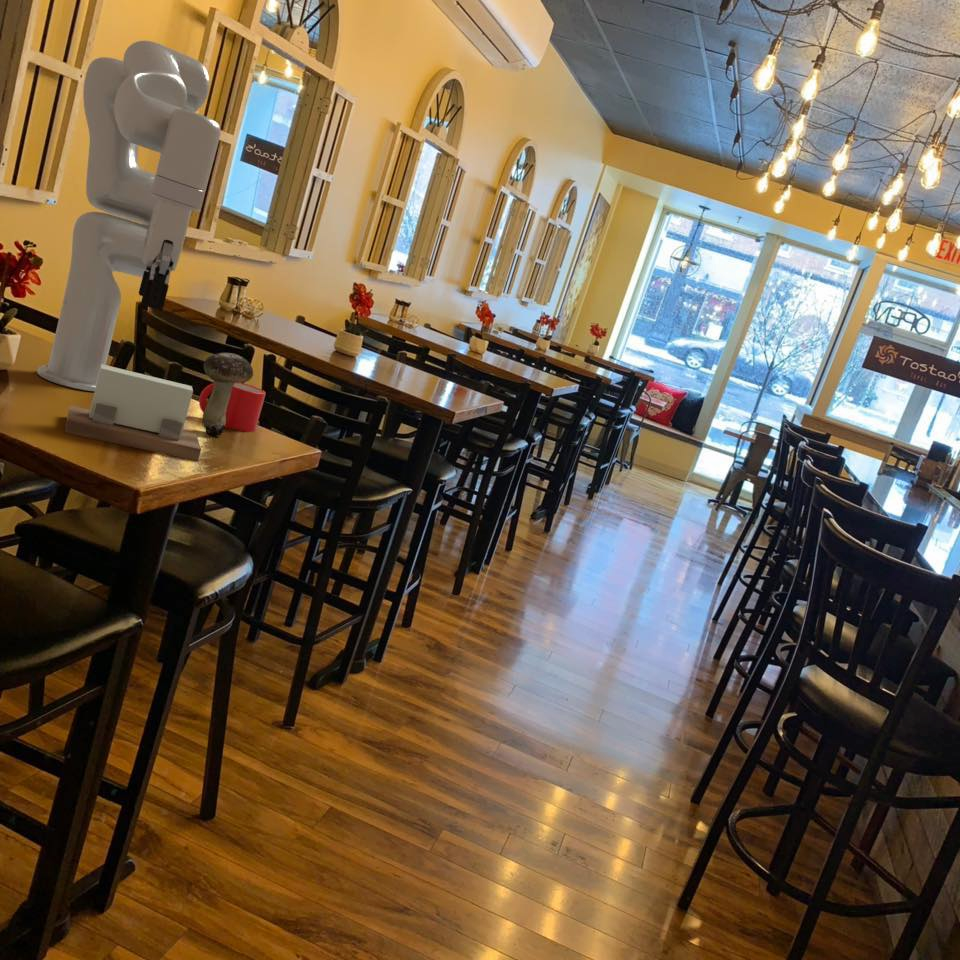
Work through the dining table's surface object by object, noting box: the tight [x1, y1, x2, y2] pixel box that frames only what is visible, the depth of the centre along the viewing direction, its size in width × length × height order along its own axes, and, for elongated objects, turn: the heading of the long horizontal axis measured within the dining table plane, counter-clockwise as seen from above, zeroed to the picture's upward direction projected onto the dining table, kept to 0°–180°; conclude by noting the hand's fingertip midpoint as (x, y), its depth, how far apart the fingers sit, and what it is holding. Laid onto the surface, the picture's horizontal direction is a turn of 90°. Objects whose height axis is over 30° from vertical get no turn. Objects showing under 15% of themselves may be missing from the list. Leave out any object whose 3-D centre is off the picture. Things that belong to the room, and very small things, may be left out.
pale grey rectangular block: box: [89, 364, 194, 438], centre depth 149 cm, size 4×14×8 cm, turn 111°
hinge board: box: [64, 403, 202, 462], centre depth 149 cm, size 10×20×5 cm, turn 111°
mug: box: [198, 382, 266, 433], centre depth 182 cm, size 8×12×8 cm, turn 119°
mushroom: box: [202, 352, 254, 436], centre depth 168 cm, size 9×9×15 cm
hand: (149, 302), depth 147 cm, fingers open, 9 cm apart
